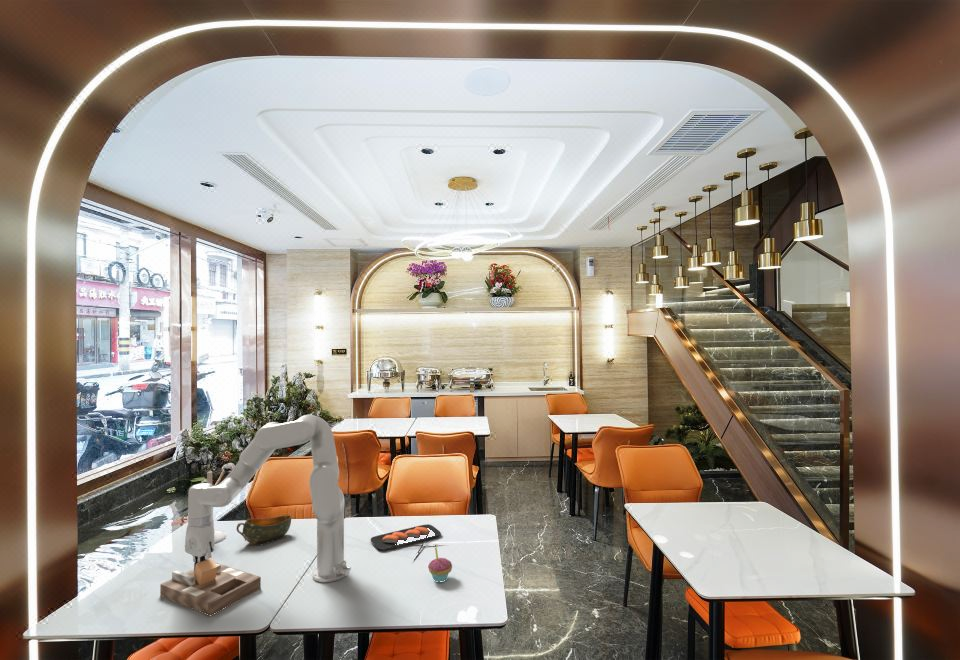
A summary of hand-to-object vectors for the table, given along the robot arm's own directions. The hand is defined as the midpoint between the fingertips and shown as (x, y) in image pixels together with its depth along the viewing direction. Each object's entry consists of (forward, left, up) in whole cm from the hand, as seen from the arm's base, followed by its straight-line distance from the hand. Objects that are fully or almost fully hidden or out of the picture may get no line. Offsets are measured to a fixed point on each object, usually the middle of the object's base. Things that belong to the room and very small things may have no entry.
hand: (200, 572), depth 160 cm
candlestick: (+36, -27, -6) cm, 46 cm away
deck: (-6, 0, -5) cm, 8 cm away
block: (-4, +1, -1) cm, 4 cm away
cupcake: (-74, -41, -6) cm, 84 cm away
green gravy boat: (+13, -37, -6) cm, 40 cm away
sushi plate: (-49, -60, -6) cm, 77 cm away
